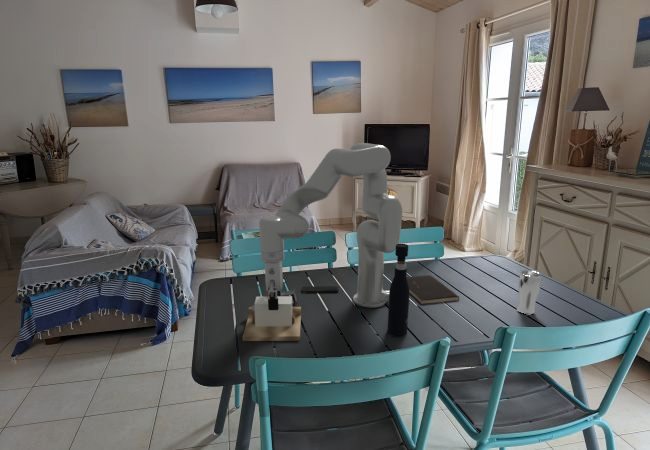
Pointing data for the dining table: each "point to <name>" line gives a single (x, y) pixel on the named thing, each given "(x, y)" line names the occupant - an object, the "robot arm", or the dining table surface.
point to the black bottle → (399, 295)
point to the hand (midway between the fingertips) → (274, 303)
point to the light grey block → (273, 312)
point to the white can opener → (528, 291)
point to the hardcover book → (429, 290)
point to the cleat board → (273, 329)
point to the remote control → (320, 289)
